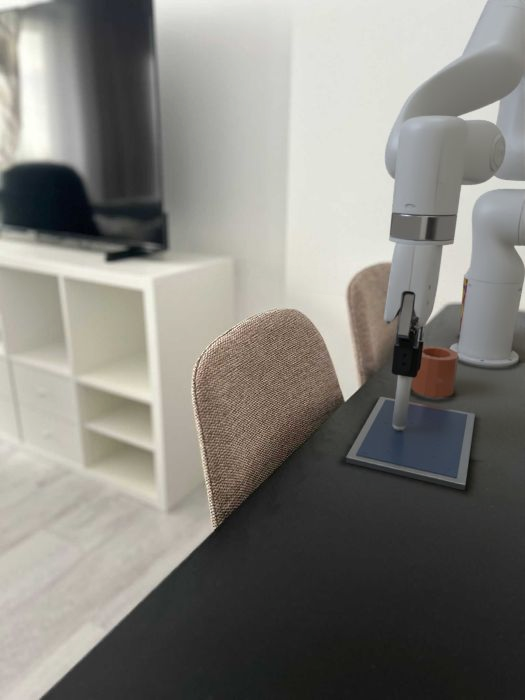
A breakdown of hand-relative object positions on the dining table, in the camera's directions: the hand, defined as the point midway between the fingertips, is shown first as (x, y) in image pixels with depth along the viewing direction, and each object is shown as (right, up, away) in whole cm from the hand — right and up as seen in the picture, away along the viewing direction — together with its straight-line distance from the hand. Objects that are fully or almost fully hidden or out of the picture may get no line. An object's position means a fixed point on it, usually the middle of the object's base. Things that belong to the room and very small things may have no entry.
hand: (405, 371), depth 67 cm
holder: (+9, -4, +17) cm, 20 cm away
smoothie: (+28, +5, +44) cm, 53 cm away
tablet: (+2, -9, +2) cm, 10 cm away
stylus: (0, -8, +3) cm, 9 cm away
